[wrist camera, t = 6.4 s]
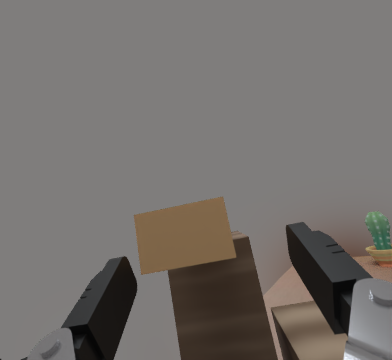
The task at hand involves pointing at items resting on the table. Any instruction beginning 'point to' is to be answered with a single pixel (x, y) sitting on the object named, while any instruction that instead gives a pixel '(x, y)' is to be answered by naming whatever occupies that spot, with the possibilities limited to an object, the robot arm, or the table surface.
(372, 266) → the table surface
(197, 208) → the slotted slat
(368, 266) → the table surface
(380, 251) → the potted cactus
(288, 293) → the table surface
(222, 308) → the step stand
